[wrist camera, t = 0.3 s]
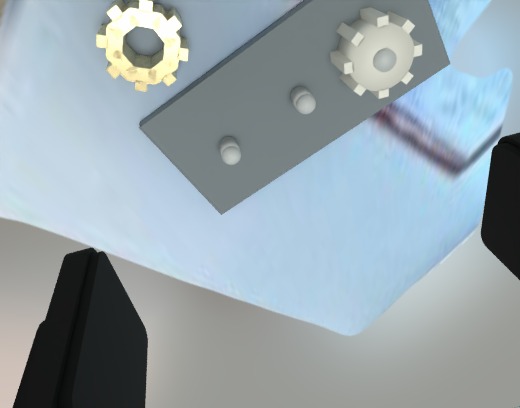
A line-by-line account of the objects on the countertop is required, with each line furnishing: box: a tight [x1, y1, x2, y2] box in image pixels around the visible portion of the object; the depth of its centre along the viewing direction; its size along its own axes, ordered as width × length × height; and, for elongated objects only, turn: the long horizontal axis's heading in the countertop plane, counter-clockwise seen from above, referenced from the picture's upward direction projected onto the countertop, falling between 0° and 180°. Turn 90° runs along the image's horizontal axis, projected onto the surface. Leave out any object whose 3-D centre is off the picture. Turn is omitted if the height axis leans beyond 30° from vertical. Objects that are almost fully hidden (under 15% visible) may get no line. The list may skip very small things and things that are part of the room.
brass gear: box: [97, 0, 189, 92], centre depth 38 cm, size 8×8×4 cm
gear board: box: [139, 0, 450, 215], centre depth 43 cm, size 14×30×6 cm, turn 123°
